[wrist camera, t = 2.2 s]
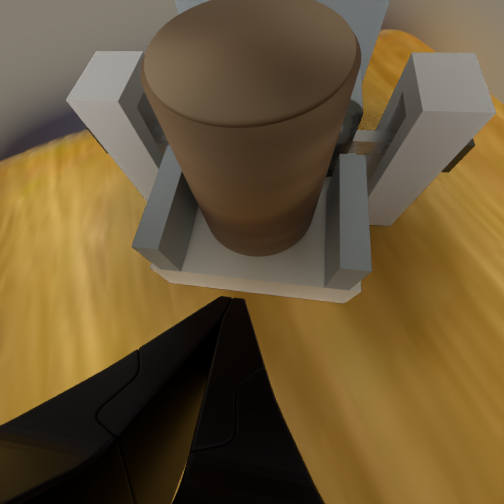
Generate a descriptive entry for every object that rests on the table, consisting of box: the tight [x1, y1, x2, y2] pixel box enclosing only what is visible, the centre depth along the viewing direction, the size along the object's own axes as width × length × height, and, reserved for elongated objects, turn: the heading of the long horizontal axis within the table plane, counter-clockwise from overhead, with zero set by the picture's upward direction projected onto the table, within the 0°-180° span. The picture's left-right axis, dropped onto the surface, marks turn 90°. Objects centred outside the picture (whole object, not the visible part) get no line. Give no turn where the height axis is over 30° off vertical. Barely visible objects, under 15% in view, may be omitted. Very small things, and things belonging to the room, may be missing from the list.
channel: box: [66, 0, 496, 303], centre depth 14 cm, size 15×17×9 cm
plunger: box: [326, 99, 475, 177], centre depth 13 cm, size 2×7×3 cm, turn 82°
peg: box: [140, 0, 362, 257], centre depth 11 cm, size 6×6×8 cm
